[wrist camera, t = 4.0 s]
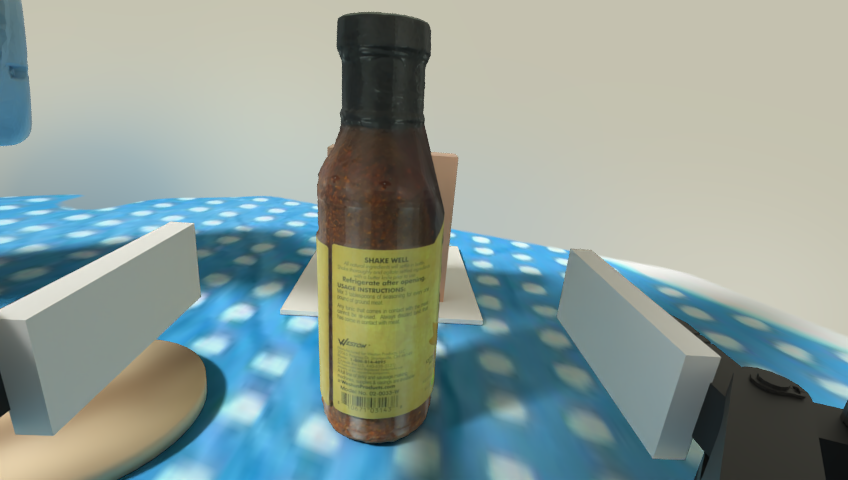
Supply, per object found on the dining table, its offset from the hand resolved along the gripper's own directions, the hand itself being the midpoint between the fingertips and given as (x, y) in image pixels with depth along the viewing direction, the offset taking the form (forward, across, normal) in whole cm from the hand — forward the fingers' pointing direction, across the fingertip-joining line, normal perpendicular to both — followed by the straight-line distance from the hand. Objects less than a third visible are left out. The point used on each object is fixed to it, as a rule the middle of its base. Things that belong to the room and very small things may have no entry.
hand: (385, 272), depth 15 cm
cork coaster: (+5, -15, -11) cm, 19 cm away
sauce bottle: (+6, 0, -11) cm, 13 cm away
